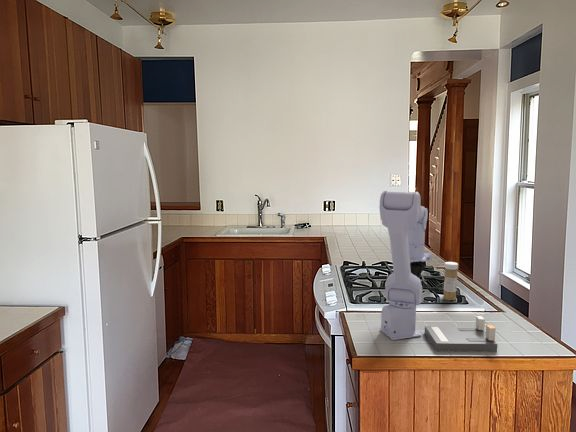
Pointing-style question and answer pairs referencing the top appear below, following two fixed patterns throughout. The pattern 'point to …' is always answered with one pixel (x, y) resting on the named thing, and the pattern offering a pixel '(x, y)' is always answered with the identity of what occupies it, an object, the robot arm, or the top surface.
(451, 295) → the sprinkles bottle
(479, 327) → the handle
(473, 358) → the top surface
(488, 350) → the box
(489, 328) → the breaker handle
